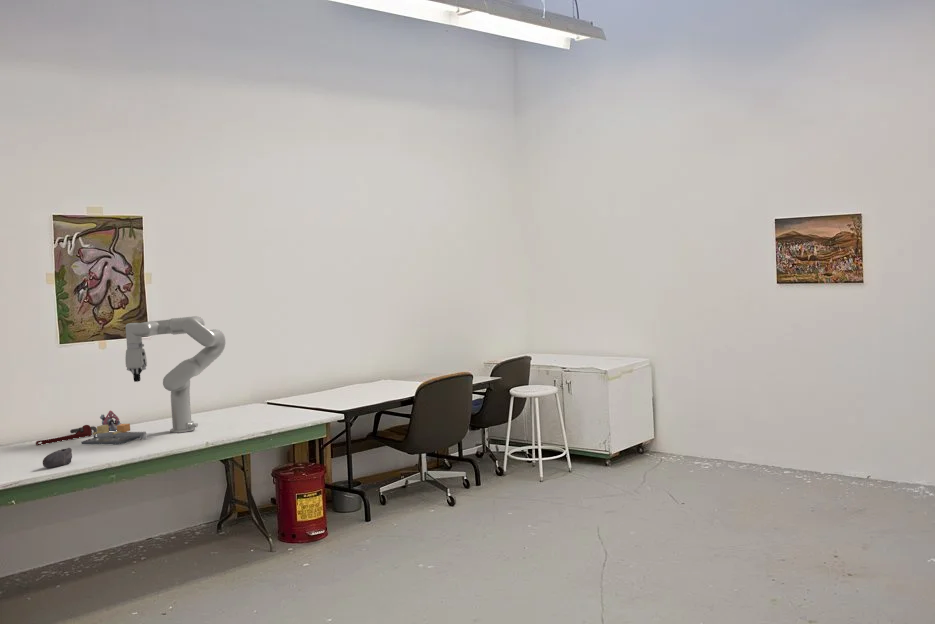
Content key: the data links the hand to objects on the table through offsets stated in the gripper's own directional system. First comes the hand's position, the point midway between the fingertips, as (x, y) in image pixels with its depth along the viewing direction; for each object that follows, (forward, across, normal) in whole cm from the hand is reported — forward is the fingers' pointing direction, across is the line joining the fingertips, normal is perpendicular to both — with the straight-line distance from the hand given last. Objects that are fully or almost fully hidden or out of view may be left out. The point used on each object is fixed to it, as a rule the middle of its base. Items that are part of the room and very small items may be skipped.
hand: (137, 381), depth 453 cm
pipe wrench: (+28, +30, +19) cm, 45 cm away
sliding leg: (+25, -2, +20) cm, 32 cm away
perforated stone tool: (+27, -10, +75) cm, 80 cm away
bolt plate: (+27, -1, +22) cm, 35 cm away
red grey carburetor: (+27, +22, -6) cm, 36 cm away
